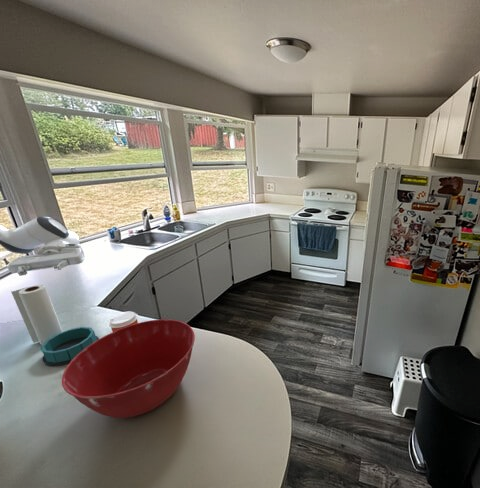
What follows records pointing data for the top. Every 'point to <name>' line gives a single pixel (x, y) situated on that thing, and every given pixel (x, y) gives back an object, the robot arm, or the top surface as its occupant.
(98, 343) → the mixing bowl
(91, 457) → the top surface
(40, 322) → the paper towel roll
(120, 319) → the paper cup
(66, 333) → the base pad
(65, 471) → the top surface
